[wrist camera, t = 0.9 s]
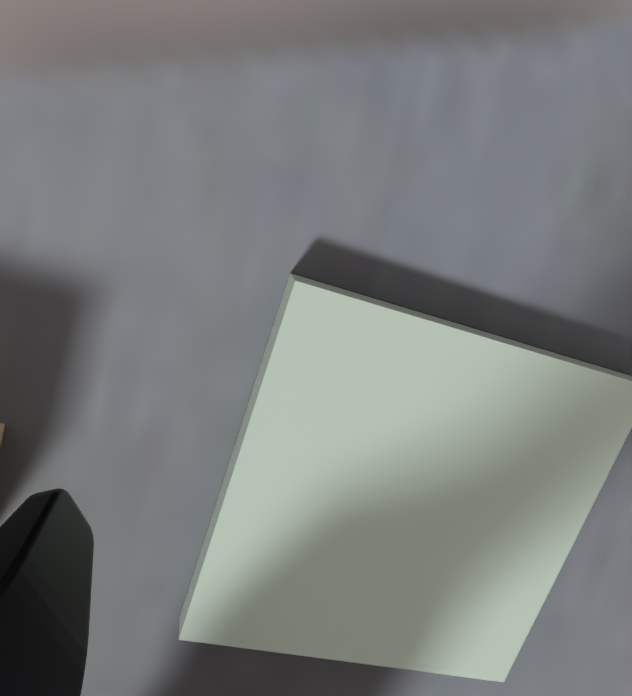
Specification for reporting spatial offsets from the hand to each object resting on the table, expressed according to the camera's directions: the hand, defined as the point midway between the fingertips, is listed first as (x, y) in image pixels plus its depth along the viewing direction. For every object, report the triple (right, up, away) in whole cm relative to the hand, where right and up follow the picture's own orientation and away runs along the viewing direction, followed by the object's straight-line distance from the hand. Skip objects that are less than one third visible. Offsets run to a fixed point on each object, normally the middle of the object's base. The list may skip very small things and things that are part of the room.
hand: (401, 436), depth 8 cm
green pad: (+2, -5, +15) cm, 16 cm away
